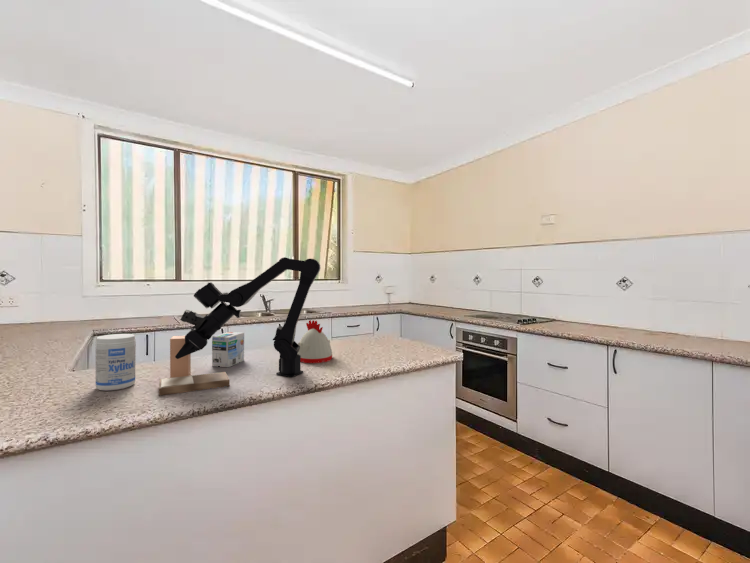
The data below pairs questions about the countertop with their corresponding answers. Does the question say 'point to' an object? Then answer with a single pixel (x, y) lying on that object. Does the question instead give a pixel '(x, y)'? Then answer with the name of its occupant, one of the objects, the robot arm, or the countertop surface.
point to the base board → (193, 383)
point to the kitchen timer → (314, 345)
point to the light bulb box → (227, 349)
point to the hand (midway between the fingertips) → (178, 354)
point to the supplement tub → (115, 361)
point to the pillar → (182, 364)
